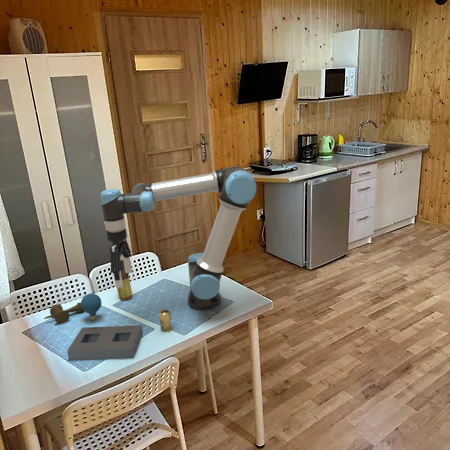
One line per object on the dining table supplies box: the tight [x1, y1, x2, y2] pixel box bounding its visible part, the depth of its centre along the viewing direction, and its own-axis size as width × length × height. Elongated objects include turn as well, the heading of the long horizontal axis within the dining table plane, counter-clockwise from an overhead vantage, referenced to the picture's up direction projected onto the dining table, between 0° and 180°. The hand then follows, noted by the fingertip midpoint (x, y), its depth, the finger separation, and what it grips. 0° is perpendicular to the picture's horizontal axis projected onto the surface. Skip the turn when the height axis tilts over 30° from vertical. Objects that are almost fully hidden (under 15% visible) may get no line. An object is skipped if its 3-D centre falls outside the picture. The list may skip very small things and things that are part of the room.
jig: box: [66, 324, 143, 361], centre depth 164 cm, size 24×16×4 cm, turn 89°
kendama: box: [43, 302, 83, 325], centre depth 188 cm, size 6×10×20 cm
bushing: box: [158, 308, 173, 333], centre depth 173 cm, size 4×4×8 cm
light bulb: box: [80, 292, 102, 321], centre depth 183 cm, size 8×8×12 cm
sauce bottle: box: [116, 257, 133, 302], centre depth 199 cm, size 6×6×20 cm
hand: (124, 279), depth 172 cm, fingers open, 13 cm apart
